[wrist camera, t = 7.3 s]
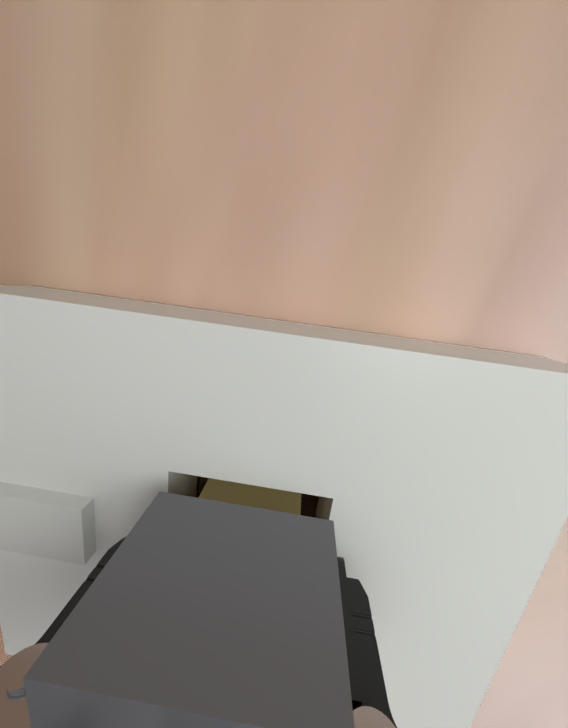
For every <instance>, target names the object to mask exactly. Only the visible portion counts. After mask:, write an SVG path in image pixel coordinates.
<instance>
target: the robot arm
mask: <svg viewBox="0 0 568 728" xmlns="http://www.w3.org/2000/svg"><path fill="white" fill-rule="evenodd" d="M125 538H126V537H124V538H123V539H121V540H120V541H119V542H117V543H116V544H115V545H113V546H112V547H111V548H109V549H108V551H107V552H106V553H105V555H104V556H103V557H102V558H101V560H100V561H99V562H98V564H97V566H96V568H94V569H93V570H92V572H91V573H90V574H89V576H88V577H87V579H86V581H84V582H83V583H82V585H81V586H80V587H79V589H78V590H77V591H76V593H75V594H74V595H73V596H72V598H71V599H70V600H69V602H68V603H67V604H66V606H65V607H64V608H63V610H62V611H61V612H60V614H59V615H58V616H57V617H56V619H55V620H54V621H53V623H52V624H51V625H50V627H49V628H48V629H47V631H46V632H45V633H44V634H43V636H42V637H41V638H40V639H39V640H38V641H37V642H36V643H35V644H34V645H32V646H29V647H27V648H25V649H23V650H21V651H20V652H18V653H16V654H15V655H14V656H12V657H11V658H10V659H9V660H7V661H6V662H5V663H4V664H3V665H2V666H0V728H31V724H30V718H29V712H28V705H27V699H26V693H25V687H24V681H23V677H24V676H25V675H26V673H27V672H28V671H29V669H30V668H31V667H32V665H33V664H34V662H35V661H36V660H37V658H38V657H39V656H40V654H41V653H42V651H43V650H44V649H45V647H46V646H47V645H48V643H49V642H50V641H51V639H52V638H53V636H54V635H55V634H56V632H57V631H58V630H59V628H60V627H61V626H62V624H63V623H64V621H65V620H66V619H67V617H68V616H69V615H70V613H71V612H72V610H73V609H74V608H75V606H76V605H77V604H78V602H79V601H80V600H81V598H82V597H83V595H84V594H85V593H86V591H87V590H88V589H89V587H90V586H91V584H92V583H93V582H94V580H95V579H96V578H97V576H98V575H99V574H100V572H101V571H102V569H103V568H104V567H105V565H106V564H107V563H108V561H109V560H110V559H111V557H112V556H113V554H114V553H115V552H116V550H117V549H118V548H119V546H120V545H121V543H122V542H123V541H124V539H125ZM337 561H338V571H339V580H340V590H341V600H342V610H343V620H344V629H345V639H346V649H347V659H348V669H349V678H350V688H351V698H352V708H353V718H354V727H355V728H397V726H396V724H395V722H394V720H393V717H392V714H391V711H390V707H389V703H388V698H387V693H386V688H385V682H384V677H383V672H382V667H381V661H380V656H379V651H378V646H377V640H376V637H375V630H374V625H373V620H372V614H371V609H370V604H369V598H368V595H367V594H366V592H365V590H364V588H363V586H362V584H361V583H360V581H359V579H354V578H348V577H346V569H345V562H344V558H343V557H337Z"/></svg>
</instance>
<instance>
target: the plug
mask: <svg viewBox="0 0 568 728" xmlns="http://www.w3.org/2000/svg"><path fill="white" fill-rule="evenodd" d="M23 681H24V687H25V693H26V699H27V705H28V712H29V718H30V724H31V728H355V727H354V718H353V708H352V698H351V688H350V678H349V669H348V659H347V649H346V639H345V629H344V620H343V610H342V600H341V590H340V580H339V571H338V561H337V551H336V541H335V531H334V522H333V521H332V520H326V519H320V518H314V517H308V516H302V515H301V493H297V492H291V491H284V490H278V489H272V488H266V487H260V486H254V485H248V484H242V483H236V482H230V481H224V480H218V479H212V478H209V479H208V481H207V482H206V484H205V486H204V488H203V490H202V492H201V494H200V496H199V498H196V497H190V496H184V495H178V494H173V493H167V492H161V491H160V492H159V493H158V494H157V496H156V497H155V498H154V500H153V501H152V502H151V504H150V505H149V507H148V508H147V509H146V511H145V512H144V513H143V515H142V516H141V518H140V519H139V520H138V522H137V523H136V524H135V526H134V527H133V528H132V530H131V531H130V533H129V534H128V535H127V537H126V538H125V539H124V541H123V542H122V543H121V545H120V546H119V548H118V549H117V550H116V552H115V553H114V554H113V556H112V557H111V559H110V560H109V561H108V563H107V564H106V565H105V567H104V568H103V569H102V571H101V572H100V574H99V575H98V576H97V578H96V579H95V580H94V582H93V583H92V584H91V586H90V587H89V589H88V590H87V591H86V593H85V594H84V595H83V597H82V598H81V600H80V601H79V602H78V604H77V605H76V606H75V608H74V609H73V610H72V612H71V613H70V615H69V616H68V617H67V619H66V620H65V621H64V623H63V624H62V626H61V627H60V628H59V630H58V631H57V632H56V634H55V635H54V636H53V638H52V639H51V641H50V642H49V643H48V645H47V646H46V647H45V649H44V650H43V651H42V653H41V654H40V656H39V657H38V658H37V660H36V661H35V662H34V664H33V665H32V667H31V668H30V669H29V671H28V672H27V673H26V675H25V676H24V677H23Z"/></svg>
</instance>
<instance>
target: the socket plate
mask: <svg viewBox="0 0 568 728" xmlns="http://www.w3.org/2000/svg"><path fill="white" fill-rule="evenodd" d="M197 476H200V477H206V478H212V479H218V480H224V481H230V482H236V483H242V484H248V485H254V486H260V487H266V488H272V489H278V490H284V491H291V492H297V493H303V494H309V495H315V496H319V499H318V504H317V509H316V515H315V518H320V519H326V520H332V521H333V522H334V531H335V541H336V551H337V557H343V558H344V562H345V569H346V577H348V578H354V579H359V581H360V583H361V584H362V586H363V588H364V590H365V592H366V594H367V595H368V598H369V604H370V609H371V614H372V620H373V625H374V630H375V637H376V640H377V646H378V651H379V656H380V661H381V667H382V672H383V677H384V682H385V688H386V693H387V698H388V703H389V707H390V711H391V714H392V717H393V720H394V722H395V724H396V726H397V728H470V727H471V724H472V722H473V720H474V718H475V716H476V714H477V711H478V709H479V707H480V705H481V703H482V701H483V698H484V696H485V694H486V692H487V690H488V688H489V686H490V683H491V681H492V679H493V677H494V675H495V673H496V670H497V668H498V666H499V664H500V662H501V660H502V657H503V655H504V653H505V651H506V649H507V647H508V645H509V642H510V640H511V638H512V636H513V634H514V632H515V629H516V627H517V625H518V623H519V621H520V619H521V616H522V614H523V612H524V610H525V608H526V606H527V603H528V601H529V599H530V597H531V595H532V593H533V591H534V588H535V586H536V584H537V582H538V580H539V578H540V575H541V573H542V571H543V569H544V567H545V565H546V562H547V560H548V558H549V556H550V554H551V552H552V550H553V547H554V545H555V543H556V541H557V539H558V537H559V534H560V532H561V530H562V528H563V526H564V524H565V521H566V519H567V517H568V364H566V363H563V362H559V361H556V360H553V359H549V358H546V357H540V356H533V355H526V354H519V353H512V352H504V351H497V350H490V349H483V348H476V347H469V346H461V345H454V344H447V343H440V342H433V341H426V340H418V339H411V338H404V337H397V336H390V335H383V334H375V333H368V332H361V331H354V330H347V329H340V328H332V327H325V326H318V325H311V324H304V323H296V322H289V321H282V320H275V319H268V318H261V317H253V316H246V315H239V314H232V313H225V312H218V311H210V310H203V309H196V308H189V307H182V306H175V305H167V304H160V303H153V302H146V301H139V300H132V299H124V298H117V297H110V296H103V295H96V294H89V293H81V292H74V291H67V290H60V289H53V288H46V287H38V286H9V285H0V625H1V631H2V637H3V642H4V648H5V654H8V655H13V656H14V655H15V654H16V653H18V652H20V651H21V650H23V649H25V648H27V647H29V646H32V645H34V644H35V643H36V642H37V641H38V640H39V639H40V638H41V637H42V636H43V634H44V633H45V632H46V631H47V629H48V628H49V627H50V625H51V624H52V623H53V621H54V620H55V619H56V617H57V616H58V615H59V614H60V612H61V611H62V610H63V608H64V607H65V606H66V604H67V603H68V602H69V600H70V599H71V598H72V596H73V595H74V594H75V593H76V591H77V590H78V589H79V587H80V586H81V585H82V583H83V582H84V581H86V579H87V577H88V576H89V574H90V573H91V572H92V570H93V569H94V568H96V566H97V564H98V562H99V561H100V560H101V558H102V557H103V556H104V555H105V553H106V552H107V551H108V549H109V548H111V547H112V546H113V545H115V544H116V543H117V542H119V541H120V540H121V539H123V538H124V537H127V535H128V534H129V533H130V531H131V530H132V528H133V527H134V526H135V524H136V523H137V522H138V520H139V519H140V518H141V516H142V515H143V513H144V512H145V511H146V509H147V508H148V507H149V505H150V504H151V502H152V501H153V500H154V498H155V497H156V496H157V494H158V493H159V492H160V491H161V492H167V493H173V494H178V495H184V496H190V497H196V491H197Z"/></svg>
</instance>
